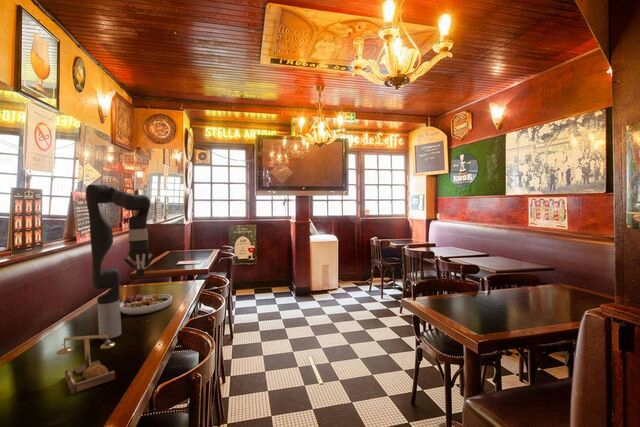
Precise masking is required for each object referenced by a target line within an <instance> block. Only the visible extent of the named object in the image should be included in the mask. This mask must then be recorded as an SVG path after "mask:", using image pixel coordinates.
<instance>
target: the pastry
mask: <svg viewBox="0 0 640 427" xmlns="http://www.w3.org/2000/svg"><path fill="white" fill-rule="evenodd" d="M101 364H102V363H101ZM101 364H100V365H97V364H93V365H90V366H89V367H88V368H86V370H85V371H84V373H83V374H82V376H83V379H85V380H87V379H90V378H93V377H96V376H99V375H102V374H105V373H108V372H109V369H108V368H107V367H106V366H105V365H103V364H102V365H101Z"/></svg>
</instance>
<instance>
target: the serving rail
mask: <svg viewBox="0 0 640 427" xmlns="http://www.w3.org/2000/svg"><path fill="white" fill-rule="evenodd" d="M64 376H65V379H66V380H65V381H66V383H67V385H68V389H69V391H70V393H71V395H73V394H75V393H78V392H79V393H80V392H81V391H85V390H87V389H91V388H93V387H95V386H99V385H102V384H103V383H107V382H109V381H112V380H115V379H116V372H115V370H112V371H108V373H105V374H102V375H99V376H96V377H93V378H90V379H87V380H86V379H85V380H81V381H79V382H76V379H75V377H74V375H73V372H72V371H71V368H66V370H64Z"/></svg>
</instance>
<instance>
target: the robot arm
mask: <svg viewBox="0 0 640 427" xmlns="http://www.w3.org/2000/svg"><path fill="white" fill-rule="evenodd" d="M85 199H86V206H87V210H88V217H89V239H90V247H91V249H90V250H91V260H92V262H91V263H92V265H91V268H92V269H91V270H92V271H91V273H92V274H91V278H92V280H91V282H92V286H93V288H94V290H96V291H98V290H103V289H108V290H107V291H106V292H104V293H103V294H101V295H99V296H98V297H97V299H96V300H97V301H96V302H97V317H98V318H97V321H98V335H105V334H108V340H111V339H114V338H117V337H119V336H120V335H122V320H121V319H122V318H121V311H120V303H121V302H120V301H121V300H120V293H121V292H120V271H119V270H118V268H116V267H114V268H105V269H102V264H103V261H104V259H105V257H106V255H107V254H108V252H109V250H110V249H111V247H112V245H113V243H114V233H113V228H112V226H111V224H110V223H109V222H108V221H107V220H106V218H105V217H104V216H103V215H102V213H101V211H100V207H99V204H109V203H113V204H114V205H115V206H117V207H122V208H123V209H124V210H127V211H129V212H130V211H133V212H134V211H138V212H137V214H136V215H132V216H130V217H129V218H128V244H129V245H128V246H129V247H128V250H129V252H128V254H127V256H126V257H124V258H123V259H122V260H123V261H124V262H125V263H126V264H127V265H128V266H129V267H130V268H131V269H134V270H135V271H136V272H135V273H136V276H137V277H138V278H144V276H145V268H148V267H149V266H150V264H151V263H152V262H153V260H154V259H155V257H156V255H155V254H152V253H151V251H150V250H149V232H148V222H147V220H148V216H149V211H150V208H151V200H150V198H149V197H148V195H145V194H132V193H130V192H127V191H121V190H119V189H116V188H114V187H112V186H111V185H108V184H107V185H106V184H89V185H87V186H86V189H85ZM131 260H132V261H133V262H134V264H133V263H132V262H131ZM99 339H100V340H107V337H103V338H99Z"/></svg>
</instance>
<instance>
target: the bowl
mask: <svg viewBox="0 0 640 427" xmlns="http://www.w3.org/2000/svg"><path fill="white" fill-rule="evenodd" d="M172 301H173V296H172V295H170V294H166V293H159V294H158V293H154V294H146V295H141V294H136V295H135V296H134V295H128V296H126V297H125V299H124V300H123V301H121V302H120V313H123V314H126V315H143V314H149V313H154V312H157V311H161V310H163V309H165V308H167V307H168V306H169V305H171V303H172Z"/></svg>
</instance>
